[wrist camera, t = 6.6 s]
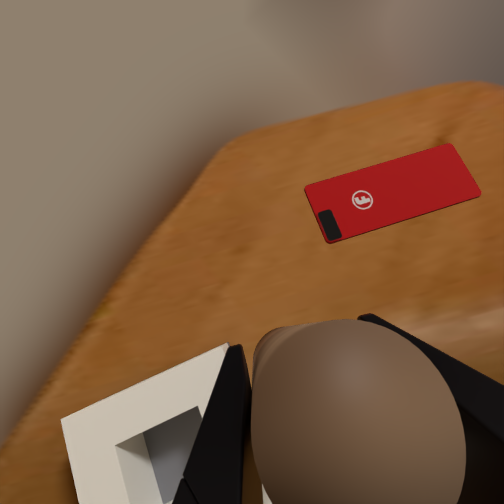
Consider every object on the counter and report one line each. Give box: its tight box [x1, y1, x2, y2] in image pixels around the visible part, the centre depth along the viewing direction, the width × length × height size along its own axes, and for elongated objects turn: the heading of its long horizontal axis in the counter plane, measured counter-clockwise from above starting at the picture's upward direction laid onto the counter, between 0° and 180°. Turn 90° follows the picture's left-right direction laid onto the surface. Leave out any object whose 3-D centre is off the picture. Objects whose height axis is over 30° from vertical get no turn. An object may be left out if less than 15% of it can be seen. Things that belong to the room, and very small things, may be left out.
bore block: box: [61, 342, 272, 504], centre depth 17 cm, size 10×10×4 cm
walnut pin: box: [251, 319, 466, 504], centre depth 9 cm, size 4×4×10 cm
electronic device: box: [305, 143, 481, 243], centre depth 24 cm, size 6×1×15 cm
